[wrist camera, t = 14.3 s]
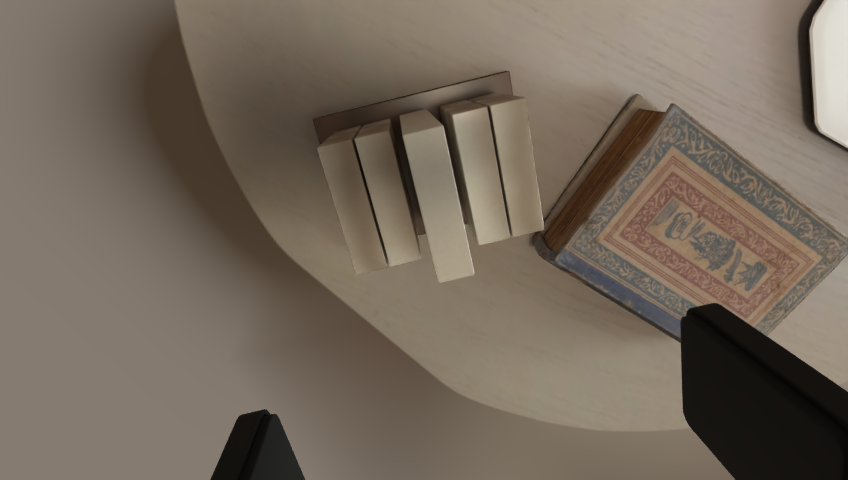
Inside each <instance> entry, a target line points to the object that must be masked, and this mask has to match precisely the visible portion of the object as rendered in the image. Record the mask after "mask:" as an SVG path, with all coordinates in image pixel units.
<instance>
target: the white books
mask: <svg viewBox="0 0 848 480" xmlns="http://www.w3.org/2000/svg"><path fill="white" fill-rule="evenodd" d="M423 109H427V110H428V111H429V112H430V113H431V114H432V115H433V116H434V117H435V118H436V119H437V120H438V121H439V122H440V123H441V124H442V125H443V126H444V131H445V136H446V140H447V145H448V150H449V155H450V159H451V164H452V169H453V174H454V178H455V183H456V188H457V193H458V197H459V202H460V207H461V212H462V216H463V221H464V224H467V223H468V225H469V227H470V229H471V231H472V233H473V235H474V237H475V239H476V241H477V243H478V245H483V244H487V243H492V242H496V241H500V240H504V239H508V238H510V234H511V235H512V236H513V237H517V236H521V235H525V234H529V233H533V232H537V231H542V230H544V223H543V216H542V209H541V202H540V196H539V189H538V182H537V175H536V168H535V161H534V155H533V148H532V141H531V134H530V127H529V121H528V114H527V107H526V100H525V97H519V96H513V93H512V86H511V80H510V73H509V71H505V72H501V73H497V74H493V75H489V76H485V77H481V78H477V79H473V80H469V81H465V82H461V83H457V84H453V85H448V86H444V87H440V88H436V89H432V90H428V91H424V92H420V93H416V94H412V95H408V96H404V97H400V98H396V99H392V100H387V101H383V102H379V103H375V104H371V105H367V106H363V107H359V108H355V109H351V110H347V111H343V112H339V113H335V114H330V115H326V116H322V117H318V118H315V119H313V122H314V125H315V128H316V132H317V135H318V138H319V141H320V146H319V147H318V148H317V150H318V153H319V157H320V160H321V163H322V166H323V170H324V173H325V176H326V179H327V182H328V186H329V189H330V192H331V195H332V198H333V202H334V205H335V208H336V211H337V215H338V218H339V221H340V224H341V227H342V231H343V234H344V237H345V240H346V244H347V247H348V250H349V253H350V256H351V260H352V263H353V266H354V269H355V272H356V275H358V274H362V273H366V272H370V271H375V270H379V269H383V268H387V265H388V261H389V264H390V266H395V265H399V264H403V263H408V262H412V261H416V260H420V259H421V252H420V246H419V239H418V235H421V234H426V231H425V227H424V222H423V218H422V214H421V210H420V206H419V202H418V198H417V194H416V190H415V186H414V181H413V177H412V173H411V169H410V165H409V161H408V157H407V153H406V149H405V144H404V140H403V136H402V129H401V122H400V115H403V114H407V113H411V112H415V111H419V110H423ZM509 232H510V234H509Z"/></svg>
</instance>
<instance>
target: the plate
mask: <svg viewBox="0 0 848 480" xmlns="http://www.w3.org/2000/svg"><path fill="white" fill-rule="evenodd" d="M808 47H809V64H810V80H811V97H812V113H813V124H814V126H815V127H816V129H817V131H818V132H819V133H821V134H823V135H824V136H826V137H828V138H830V139H831V140H833V141H835V142H837V143H838V144H840V145H842V146H844V147H845V148H847V149H848V0H822V2H821V3H820V5H819V6H818V8H817V9H816V11H815V12H814V14H813V15H812V17H811V20H810V24H809V27H808Z"/></svg>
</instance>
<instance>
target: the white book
mask: <svg viewBox="0 0 848 480" xmlns="http://www.w3.org/2000/svg"><path fill="white" fill-rule="evenodd" d="M400 122H401V129H402V136H403V140H404V144H405V149H406V153H407V157H408V161H409V165H410V169H411V173H412V177H413V181H414V186H415V190H416V194H417V198H418V202H419V206H420V210H421V214H422V218H423V222H424V227H425V231H426V235H427V239H428V243H429V247H430V251H431V255H432V259H433V264H434V268H435V272H436V276H437V280H438V283H442V282H446V281H450V280H455V279H459V278H463V277H467V276H471V275H474V274H475V273H474V268H473V264H472V259H471V254H470V249H469V245H468V240H467V235H466V231H465V226H464V221H463V216H462V212H461V207H460V202H459V197H458V193H457V188H456V183H455V178H454V174H453V169H452V164H451V159H450V155H449V150H448V145H447V140H446V136H445V131H444V126H443V125H442V124H441V123H440V122H439V121H438V120H437V119H436V118H435V117H434V116H433V115H432V114H431V113H430V112H429V111H428V110H427V109H423V110H419V111H415V112H411V113H407V114H403V115H400Z"/></svg>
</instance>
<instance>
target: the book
mask: <svg viewBox="0 0 848 480" xmlns="http://www.w3.org/2000/svg"><path fill="white" fill-rule="evenodd" d="M533 243H534V246H535V248H536V250H537V252H538V254H539V256H541V257H542V258H543V259H544V260H546V261H547V262H549V263H551V264H552V265H554V266H556V267H557V268H559V269H560V270H562V271H564V272H565V273H567V274H569V275H570V276H572V277H574V278H575V279H577V280H579V281H580V282H582V283H583V284H585V285H587V286H588V287H590V288H592V289H593V290H595V291H597V292H598V293H600V294H601V295H603V296H605V297H606V298H608V299H610V300H611V301H613V302H615V303H616V304H618V305H619V306H621V307H623V308H624V309H626V310H628V311H629V312H631V313H633V314H634V315H636V316H637V317H639V318H641V319H642V320H644V321H646V322H647V323H649V324H651V325H652V326H654V327H656V328H657V329H659V330H660V331H662V332H664V333H665V334H667V335H669V336H670V337H672V338H674V339H675V340H677V341H678V342H680V343H681V329H680V322H681V318H682V317H684V316H686V312H687V310H688V309H690V308H693V307H697V306H702V305H706V304H710V303H718V304H720V305H722V306H723V307H725V308H726V309H728V310H729V311H731V312H732V313H734V314H735V315H736V316H738V317H739V318H741V319H742V320H744V321H745V322H747V323H748V324H750V325H751V326H753V327H754V328H755V329H757V330H758V331H760V332H761V333H763V334H764V335H766V336H767V335H768V334H769V333H770V332H771V331H772V330H773V329H774V328H775V327H776V326H777V325H778V324H779V323H780V322H781V321H782V320H783V319H784V318H785V317H786V316H787V315H788V314H789V313H790V312H791V311H792V310H793V309H794V308H795V307H796V306H797V305H798V304H800V303H801V302H802V301H803V300H804V299H805V298H806V297H807V296H808V295H809V294H810V293H811V292H812V291H813V290H814V289H815V288H816V287H817V286H818V285H819V284H820V283H821V282H822V281H823V280H824V279H825V278H826V277H827V276H828V275H829V274H830V273H831V272H832V271H833V270H834V269H835V267H836V266H837V265H838V264H839V263H840V262H841V261H842V260H843V259H844V258H845V256H846V255H847V254H848V238H847V237H846V236H845V235H843V234H842V233H841V232H840V231H838V230H837V229H836V228H834V227H833V226H832V225H831V224H829V223H828V222H827V221H825V220H824V219H823V218H822V217H820V216H819V215H818V214H816V213H815V212H814V211H813V210H811V209H810V208H809V207H807V206H806V205H805V204H803V203H802V202H801V201H800V200H798V199H797V198H796V197H794V196H793V195H792V194H791V193H789V192H788V191H787V190H785V189H784V188H783V187H782V186H780V185H779V184H778V183H776V182H775V181H774V180H773V179H771V178H770V177H769V176H767V175H766V174H765V173H764V172H762V171H761V170H760V169H758V168H757V167H756V166H755V165H753V164H752V163H751V162H749V161H748V160H747V159H745V158H744V157H743V156H742V155H740V154H739V153H738V152H736V151H735V150H734V149H733V148H731V147H730V146H729V145H727V144H726V143H725V142H724V141H722V140H721V139H720V138H718V137H717V136H716V135H715V134H713V133H712V132H711V131H709V130H708V129H707V128H706V127H704V126H703V125H702V124H700V123H699V122H698V121H696V120H695V119H694V118H693V117H691V116H690V115H689V114H687V113H686V112H685V111H684V110H682V109H681V108H680V107H678V106H677V105H676V104H671V105H670V106H669V108H668V109H667V111H666V112H661V111H659V110H658V109H657V108H656V107H654V106H653V105H652V104H651V103H649V102H648V101H647V100H646V99H644V98H643V97H642V96H640V95H639V94H635V96H634V97H633V98H632V99H631V101H630V102H629V103H628V105H627V106H626V107H625V109H624V110H623V111H622V112H621V114H620V115H619V117H618V118H617V119H616V121H615V122H614V123H613V125H612V126H611V128H610V129H609V130H608V132H607V133H606V134H605V136H604V137H603V139H602V140H601V141H600V143H599V144H598V145H597V147H596V148H595V150H594V151H593V152H592V154H591V155H590V157H589V158H588V159H587V161H586V162H585V163H584V165H583V166H582V168H581V169H580V170H579V172H578V173H577V174H576V176H575V177H574V179H573V180H572V181H571V183H570V184H569V186H568V187H567V189H566V190H565V192H564V193H563V195H562V196H561V198H560V199H559V201H558V202H557V204H556V205H555V207H554V208H553V209H552V211H551V212H550V214H549V215H548V217H547V218H546V220H545V221H544V230H542V231H538V232H537V233H536V234H535V236H534V237H533Z"/></svg>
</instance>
